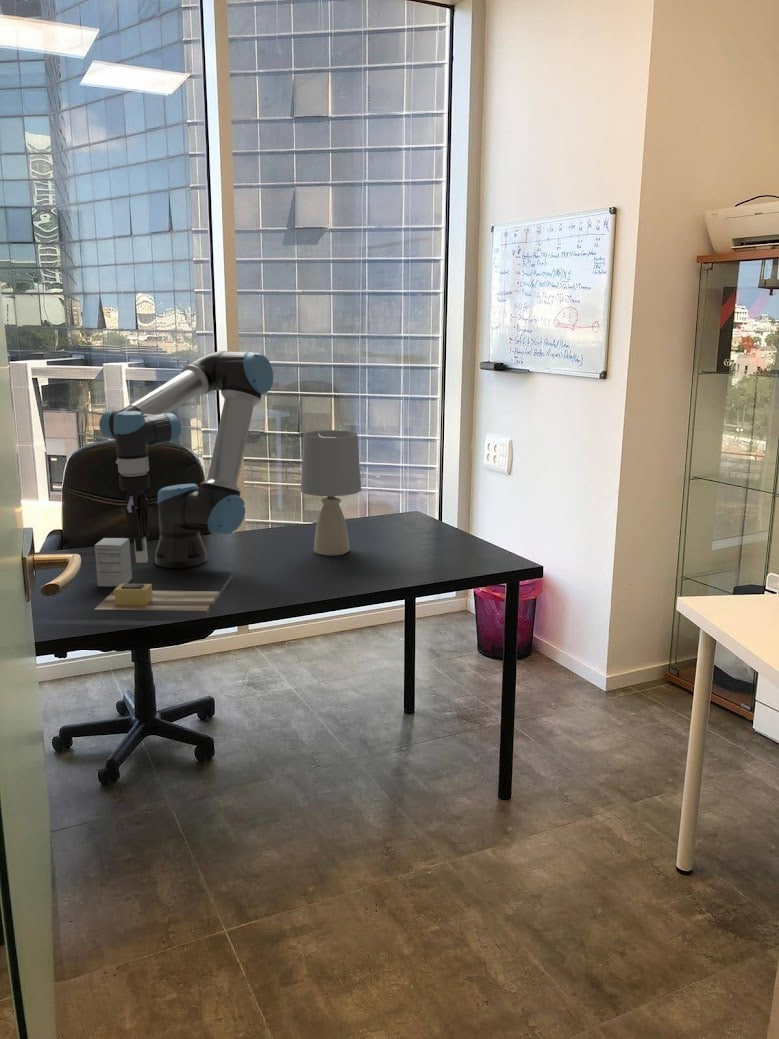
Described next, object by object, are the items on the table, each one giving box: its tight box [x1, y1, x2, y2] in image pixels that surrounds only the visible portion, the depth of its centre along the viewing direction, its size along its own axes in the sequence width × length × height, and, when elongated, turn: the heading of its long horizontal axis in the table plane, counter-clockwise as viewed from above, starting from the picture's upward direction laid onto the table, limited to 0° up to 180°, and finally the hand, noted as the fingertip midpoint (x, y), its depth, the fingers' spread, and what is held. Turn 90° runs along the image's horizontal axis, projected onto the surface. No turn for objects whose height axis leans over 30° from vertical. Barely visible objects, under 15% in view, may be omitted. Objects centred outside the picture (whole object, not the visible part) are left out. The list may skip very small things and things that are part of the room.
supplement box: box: [94, 537, 133, 587], centre depth 234 cm, size 7×7×13 cm
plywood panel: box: [94, 590, 221, 615], centre depth 221 cm, size 15×28×1 cm, turn 89°
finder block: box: [113, 583, 153, 605], centre depth 219 cm, size 5×8×4 cm, turn 89°
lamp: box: [300, 429, 362, 557], centre depth 266 cm, size 19×19×37 cm
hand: (142, 561), depth 225 cm, fingers closed
